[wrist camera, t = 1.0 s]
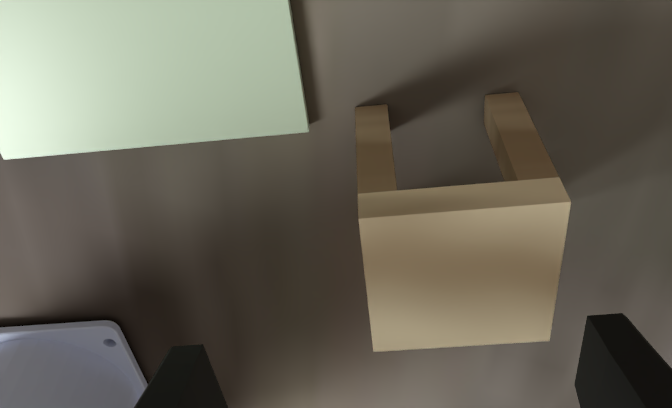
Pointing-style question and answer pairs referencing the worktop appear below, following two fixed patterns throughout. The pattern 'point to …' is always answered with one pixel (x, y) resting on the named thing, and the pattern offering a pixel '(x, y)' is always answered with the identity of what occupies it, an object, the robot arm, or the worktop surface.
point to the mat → (145, 74)
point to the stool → (461, 240)
